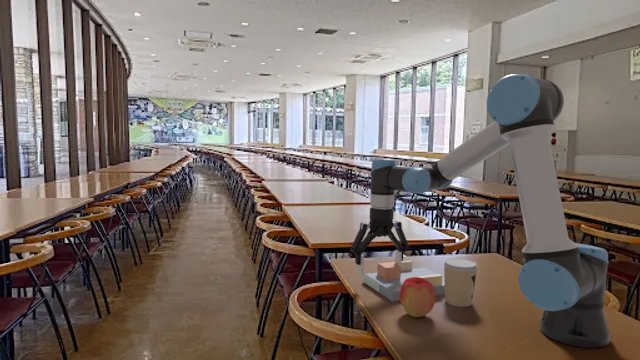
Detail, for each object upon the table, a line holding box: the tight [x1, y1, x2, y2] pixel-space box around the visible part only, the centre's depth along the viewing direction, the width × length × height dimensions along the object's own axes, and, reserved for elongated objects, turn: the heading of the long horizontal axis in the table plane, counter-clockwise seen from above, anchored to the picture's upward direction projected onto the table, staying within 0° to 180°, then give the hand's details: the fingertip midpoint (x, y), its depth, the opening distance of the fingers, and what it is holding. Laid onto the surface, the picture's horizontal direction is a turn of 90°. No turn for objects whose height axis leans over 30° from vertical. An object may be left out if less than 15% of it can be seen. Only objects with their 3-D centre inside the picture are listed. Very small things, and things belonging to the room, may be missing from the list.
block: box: [376, 261, 401, 280], centre depth 144 cm, size 6×6×4 cm
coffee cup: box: [443, 257, 478, 308], centre depth 131 cm, size 9×9×12 cm
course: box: [362, 260, 445, 302], centre depth 143 cm, size 18×24×6 cm
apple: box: [400, 277, 436, 318], centre depth 120 cm, size 10×10×10 cm
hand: (379, 272), depth 143 cm, fingers open, 13 cm apart
